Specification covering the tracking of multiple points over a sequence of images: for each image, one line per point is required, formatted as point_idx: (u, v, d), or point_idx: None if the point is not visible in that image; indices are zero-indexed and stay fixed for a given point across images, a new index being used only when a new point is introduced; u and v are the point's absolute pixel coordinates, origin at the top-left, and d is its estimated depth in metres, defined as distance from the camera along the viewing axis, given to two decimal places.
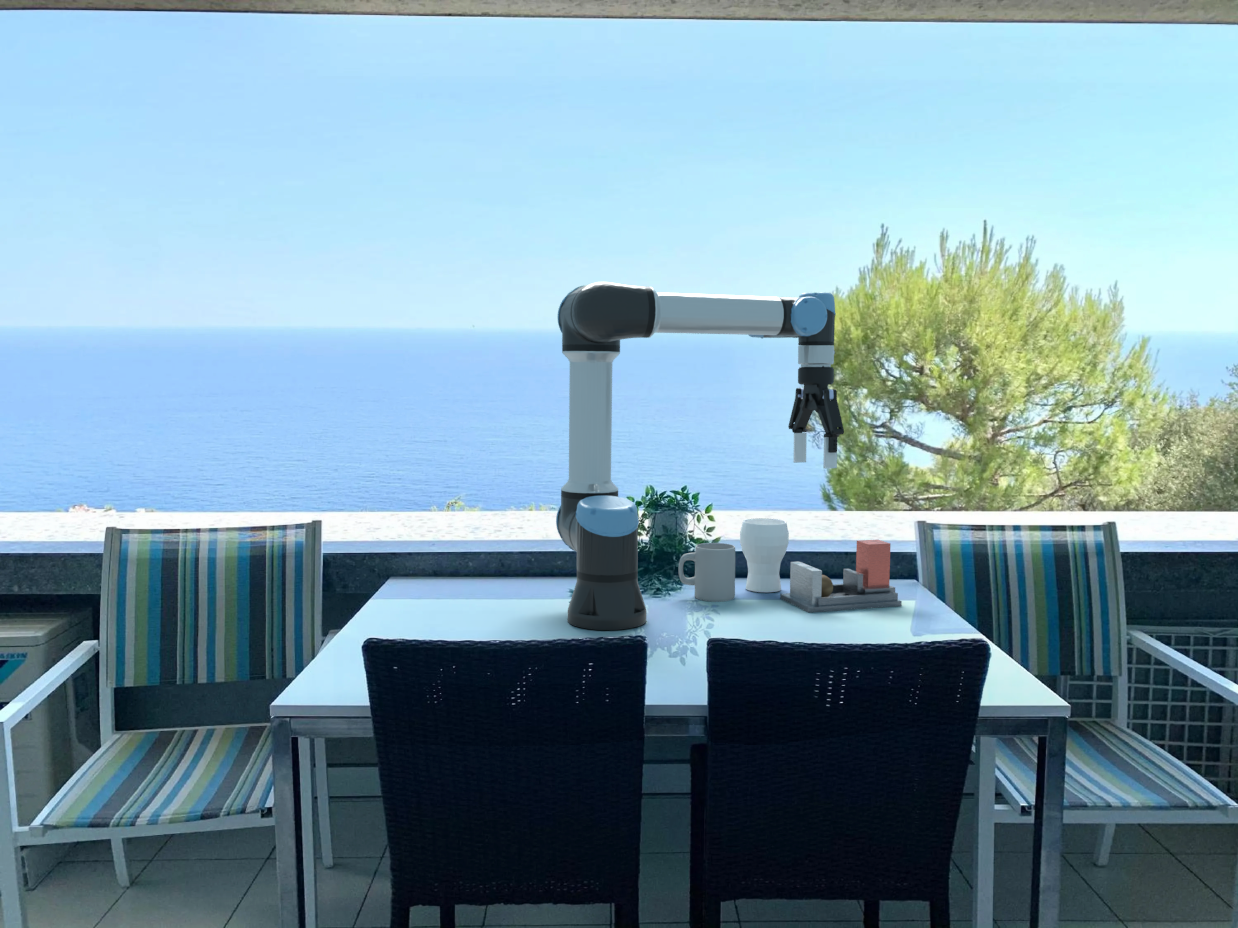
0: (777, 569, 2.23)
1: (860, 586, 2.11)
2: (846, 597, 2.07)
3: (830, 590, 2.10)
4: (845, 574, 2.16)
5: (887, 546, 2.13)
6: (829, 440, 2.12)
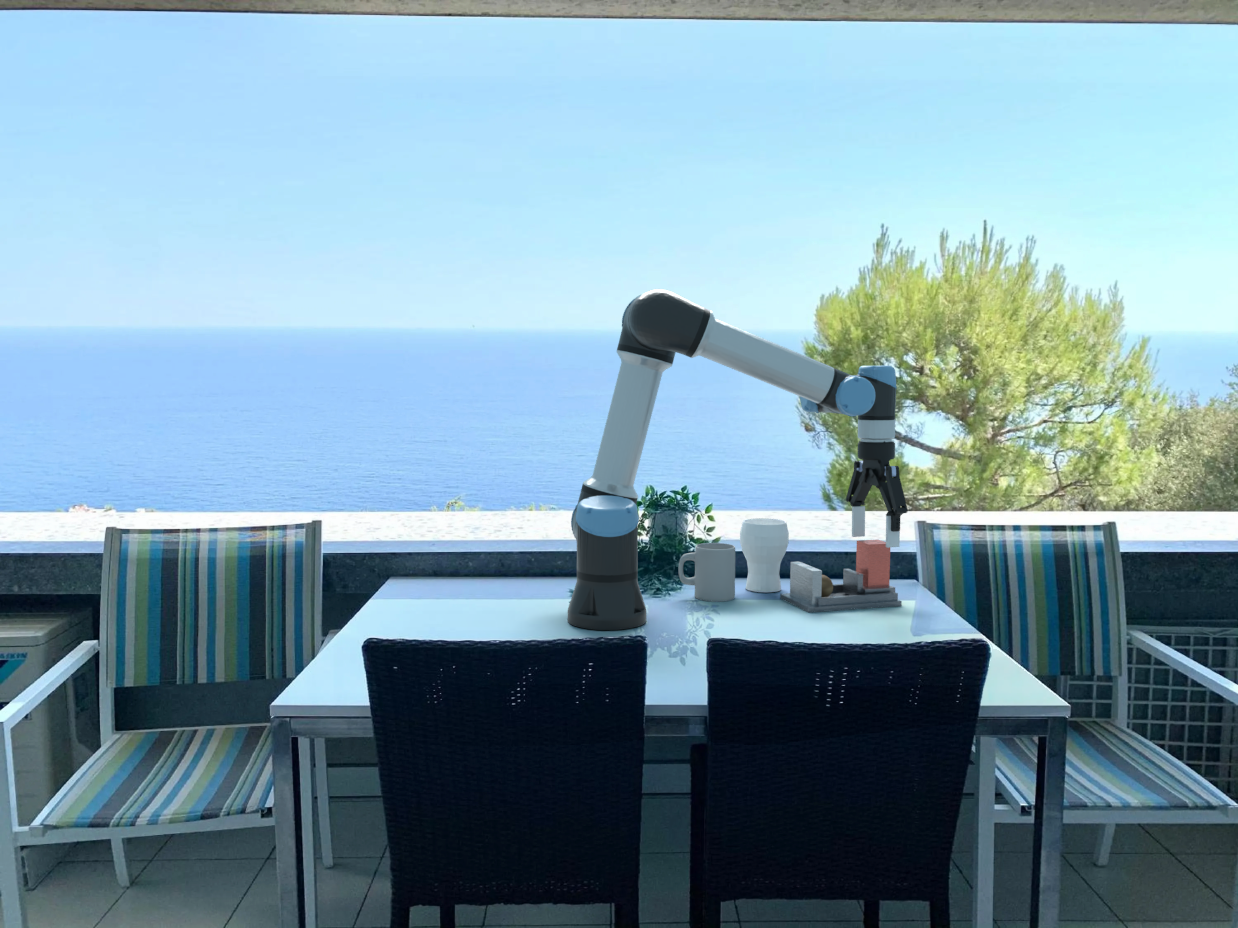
0: (777, 569, 2.23)
1: (860, 586, 2.11)
2: (846, 597, 2.07)
3: (830, 590, 2.10)
4: (845, 574, 2.16)
5: None
6: (892, 519, 2.06)
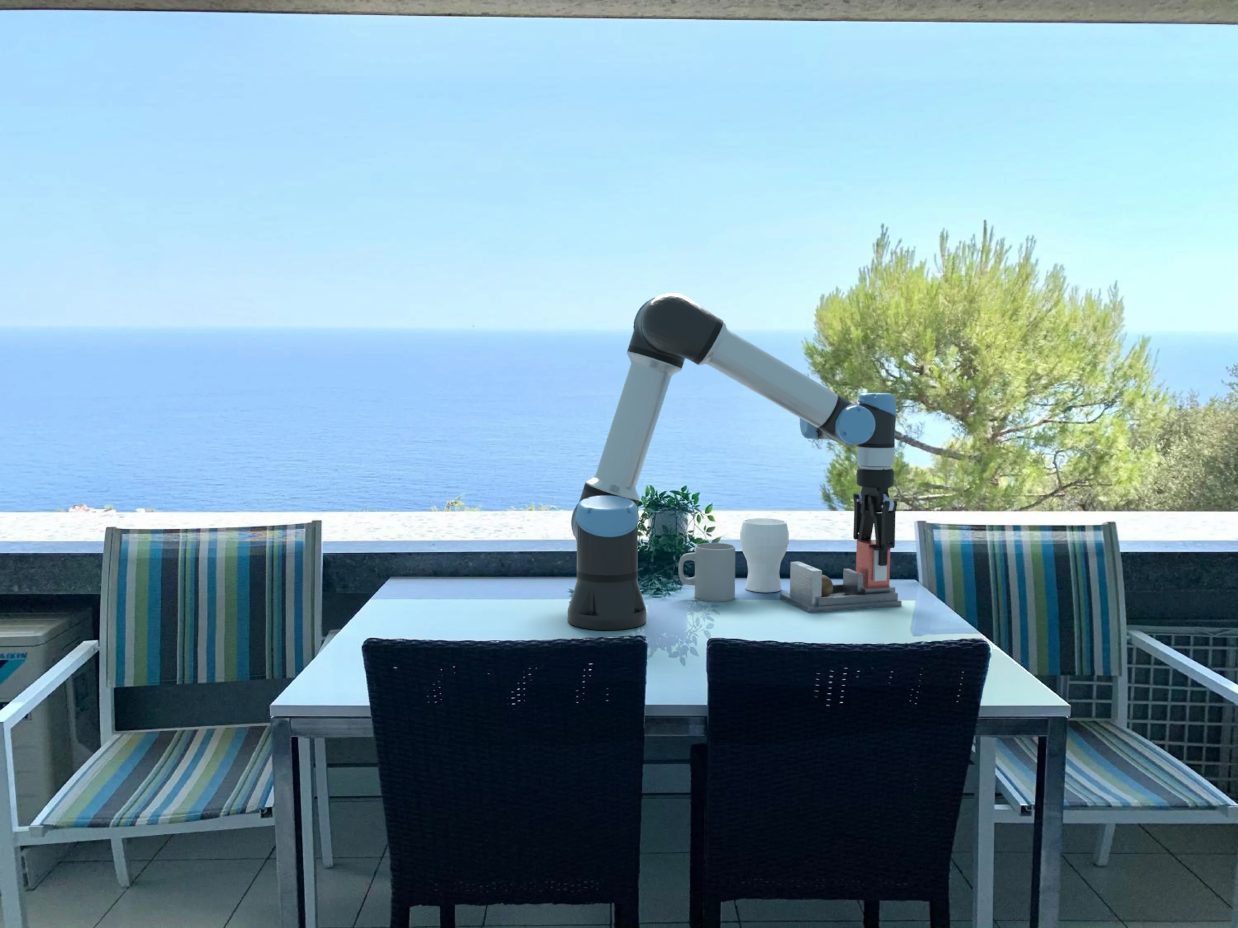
0: (777, 569, 2.23)
1: (860, 586, 2.11)
2: (846, 597, 2.07)
3: (830, 590, 2.10)
4: (845, 574, 2.16)
5: None
6: (879, 553, 2.11)
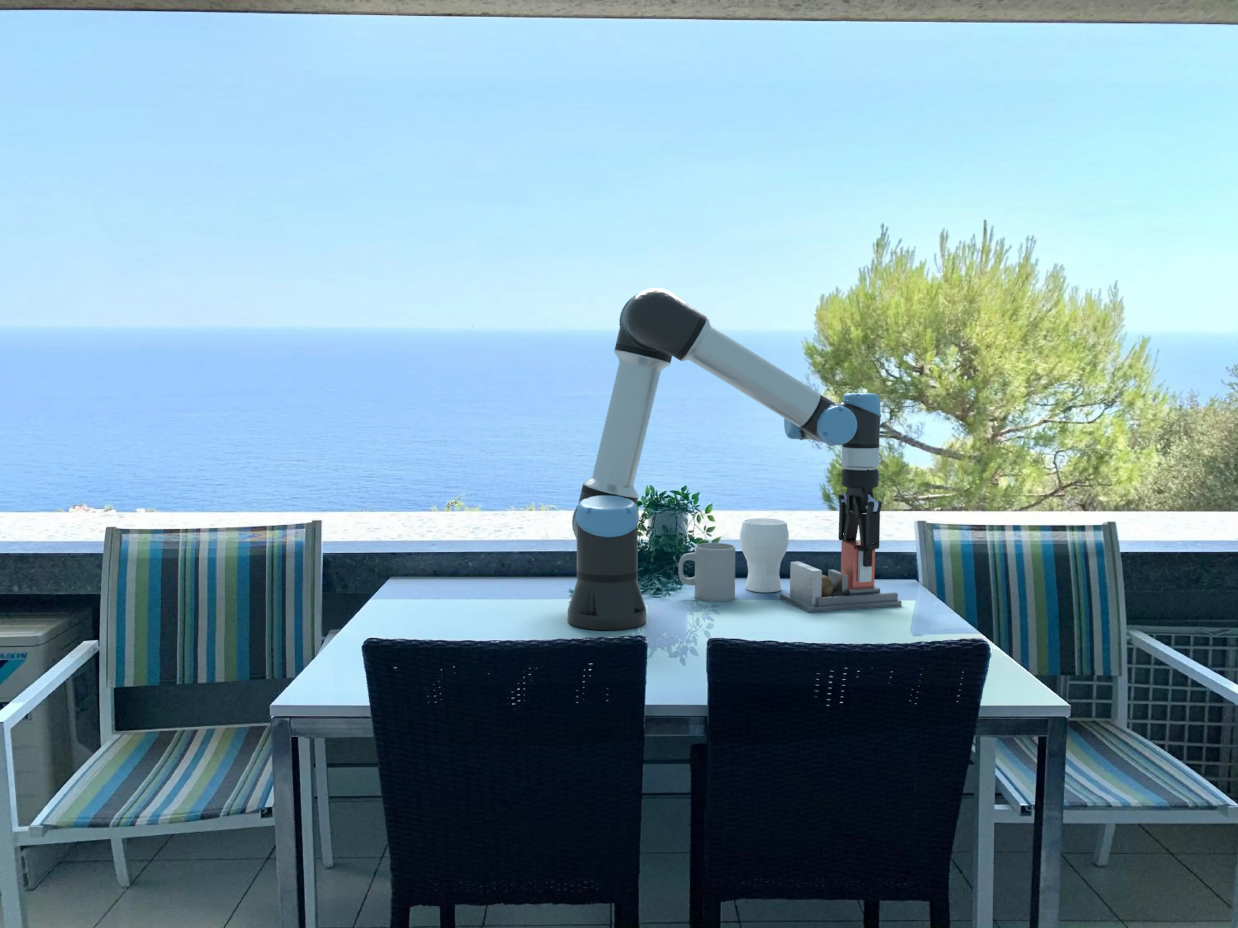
0: (777, 569, 2.23)
1: (845, 587, 2.10)
2: (846, 597, 2.07)
3: (830, 590, 2.10)
4: (829, 575, 2.15)
5: None
6: (864, 554, 2.10)
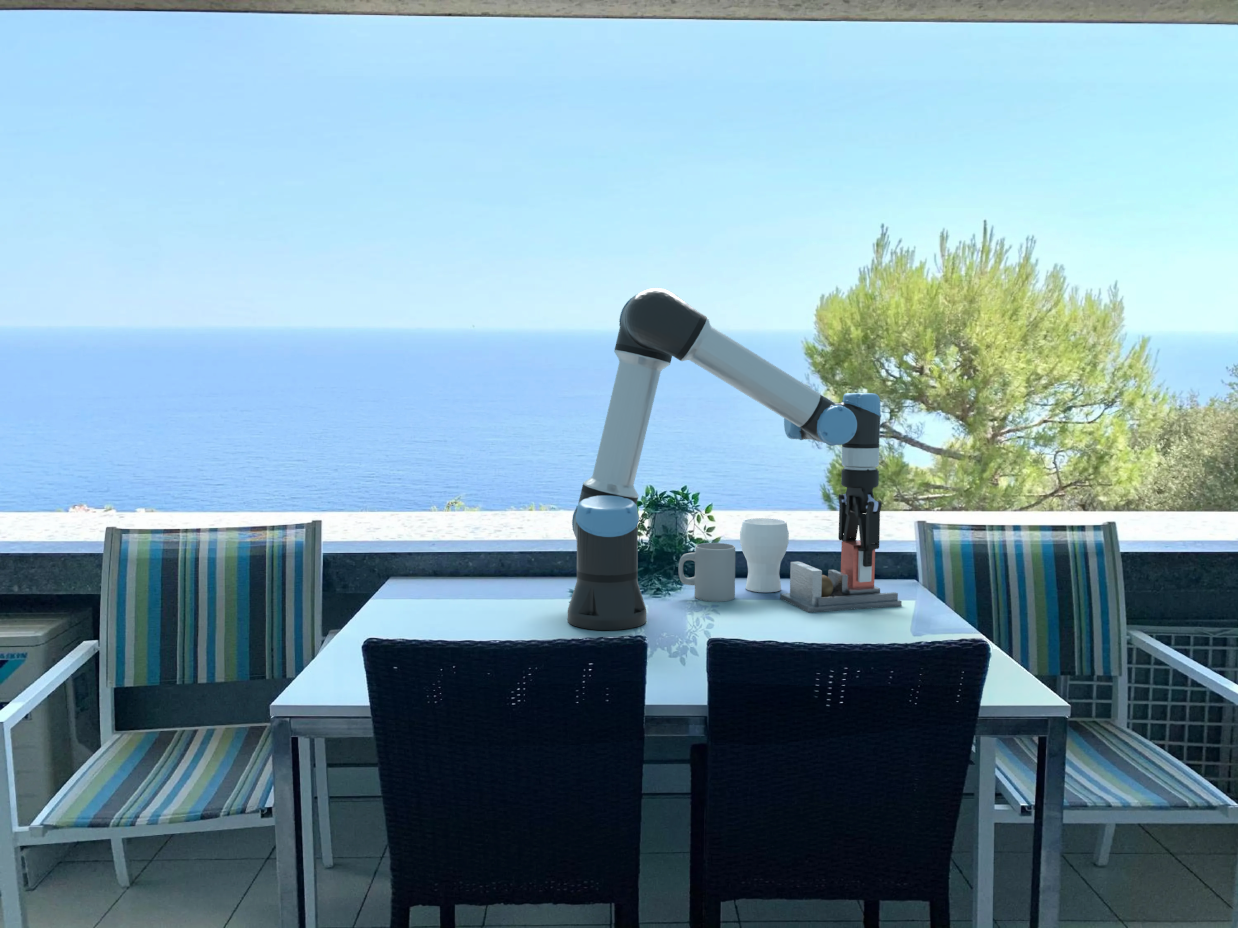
0: (777, 569, 2.23)
1: (845, 587, 2.10)
2: (846, 597, 2.07)
3: (830, 590, 2.10)
4: (829, 575, 2.15)
5: None
6: (864, 554, 2.10)
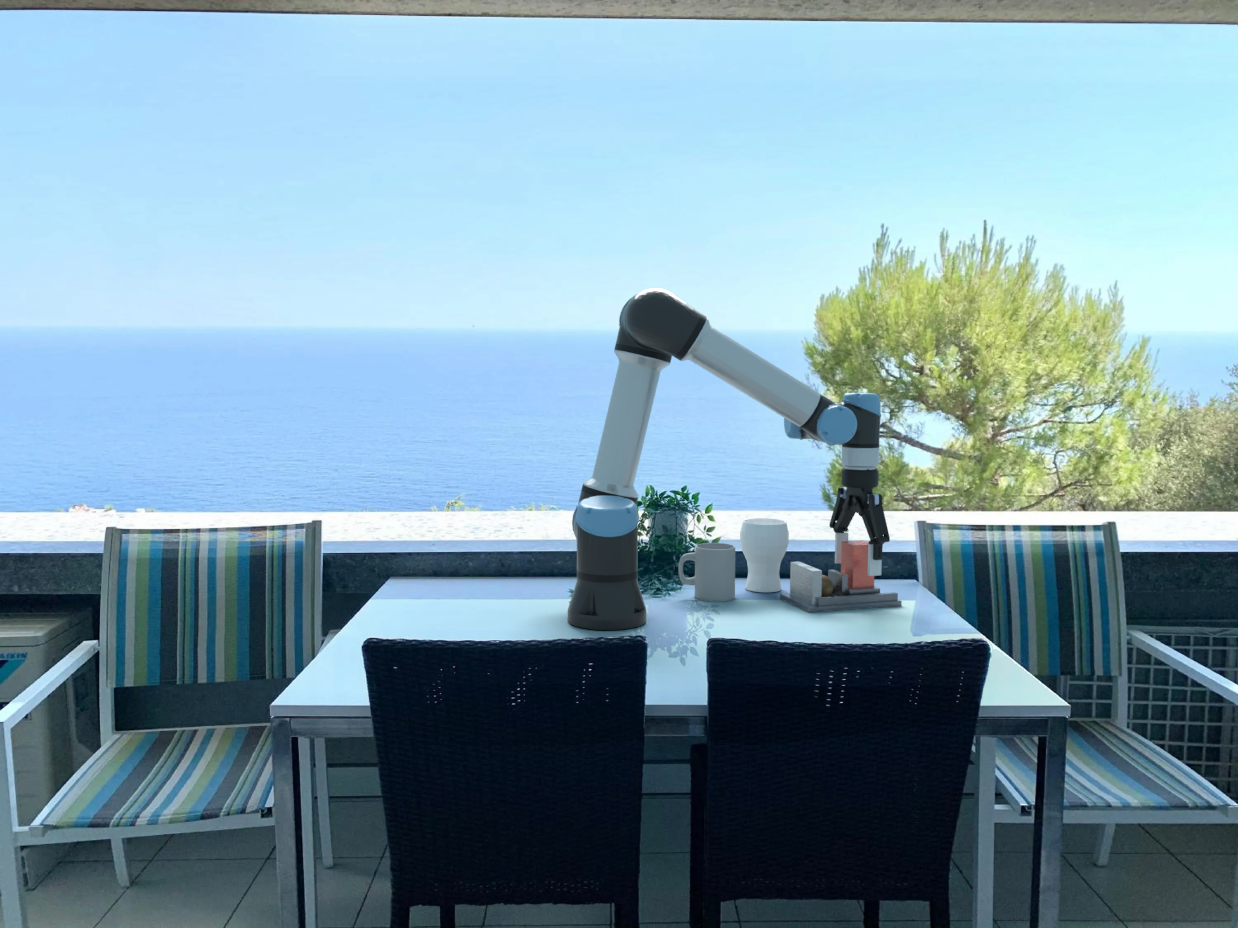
0: (777, 569, 2.23)
1: (845, 587, 2.10)
2: (846, 597, 2.07)
3: (830, 590, 2.10)
4: (829, 575, 2.15)
5: None
6: (874, 547, 2.06)
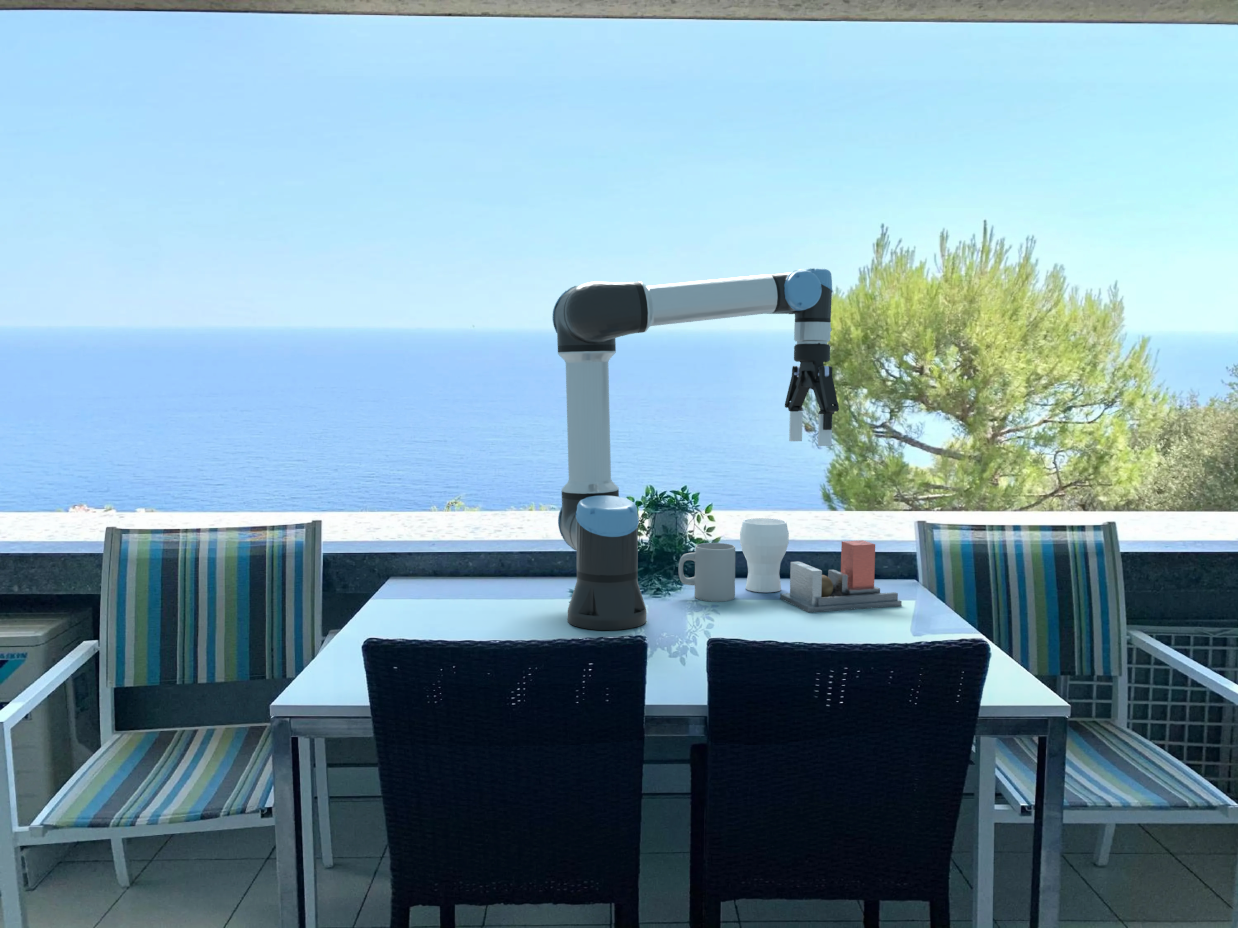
0: (777, 569, 2.23)
1: (845, 587, 2.10)
2: (846, 597, 2.07)
3: (830, 590, 2.10)
4: (829, 575, 2.15)
5: (872, 547, 2.12)
6: (824, 417, 2.10)
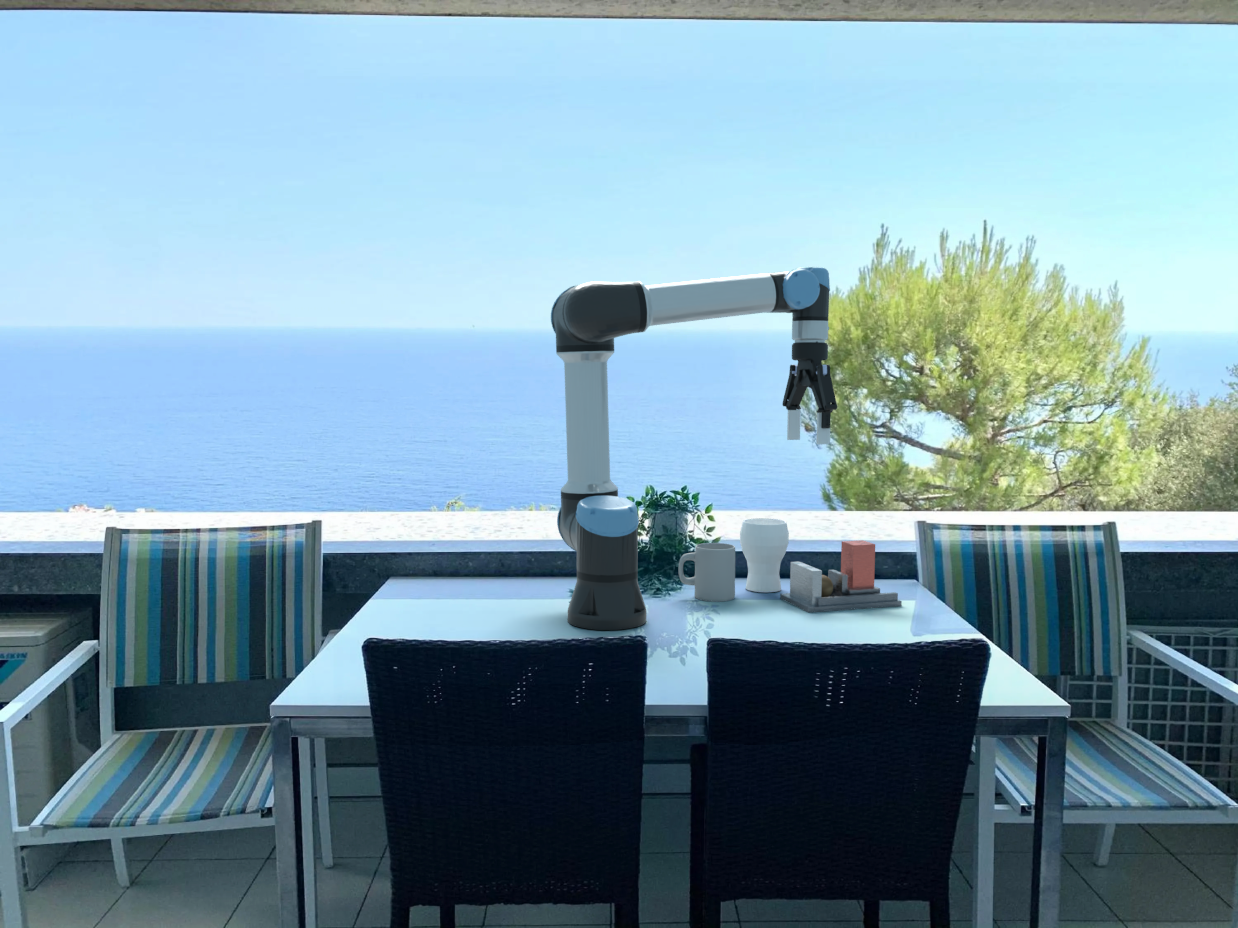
0: (777, 569, 2.23)
1: (845, 587, 2.10)
2: (846, 597, 2.07)
3: (830, 590, 2.10)
4: (829, 575, 2.15)
5: (872, 547, 2.12)
6: (822, 416, 2.11)
